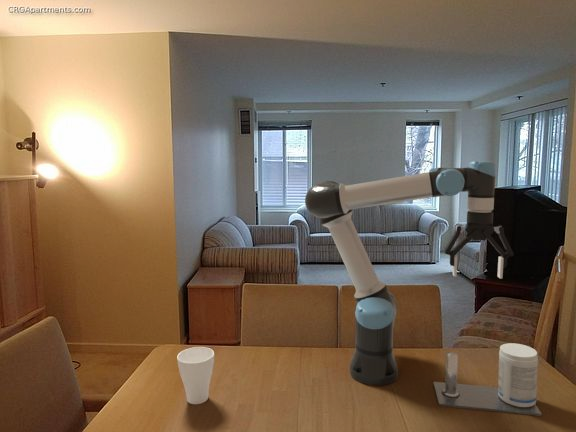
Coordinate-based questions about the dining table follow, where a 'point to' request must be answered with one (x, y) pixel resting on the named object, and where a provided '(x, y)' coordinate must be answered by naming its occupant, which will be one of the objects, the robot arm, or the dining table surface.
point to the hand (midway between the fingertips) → (476, 276)
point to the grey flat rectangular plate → (480, 399)
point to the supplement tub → (518, 374)
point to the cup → (196, 372)
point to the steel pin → (451, 375)
